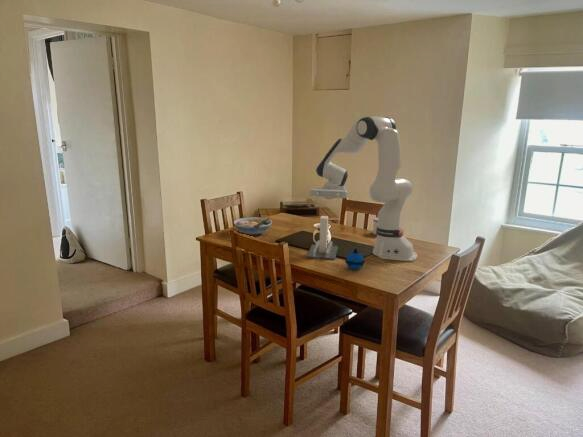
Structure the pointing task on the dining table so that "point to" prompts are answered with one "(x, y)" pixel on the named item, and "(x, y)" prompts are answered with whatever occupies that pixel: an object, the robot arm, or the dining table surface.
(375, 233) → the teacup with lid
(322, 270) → the dining table surface
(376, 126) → the robot arm
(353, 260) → the ornament
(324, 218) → the white rectangular block
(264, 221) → the ramen bowl
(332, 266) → the dining table surface
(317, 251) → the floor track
